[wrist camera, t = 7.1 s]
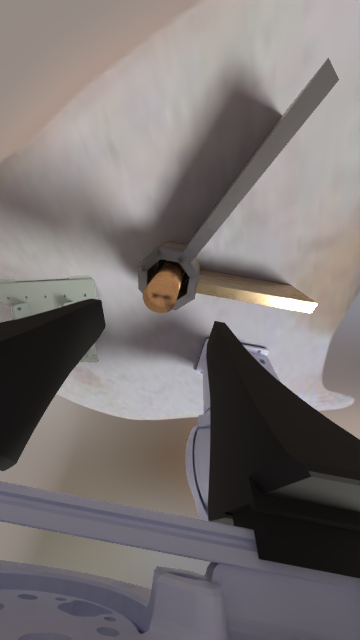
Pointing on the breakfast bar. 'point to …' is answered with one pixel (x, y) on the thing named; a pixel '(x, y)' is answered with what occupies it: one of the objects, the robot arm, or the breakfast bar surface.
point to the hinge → (239, 188)
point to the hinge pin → (164, 288)
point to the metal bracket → (48, 298)
